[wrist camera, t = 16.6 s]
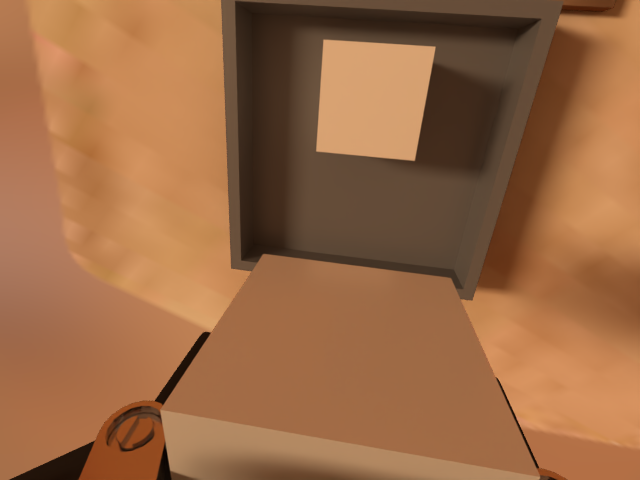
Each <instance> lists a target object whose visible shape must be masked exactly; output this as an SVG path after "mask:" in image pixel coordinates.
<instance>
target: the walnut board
mask: <svg viewBox="0 0 640 480" xmlns="http://www.w3.org/2000/svg"><path fill="white" fill-rule="evenodd" d="M556 1H564V2H563V6H562V9H563V10H581V11H599V12H603V11H606V10H608V9H611V8H614V5H615V2H616V0H556Z"/></svg>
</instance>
